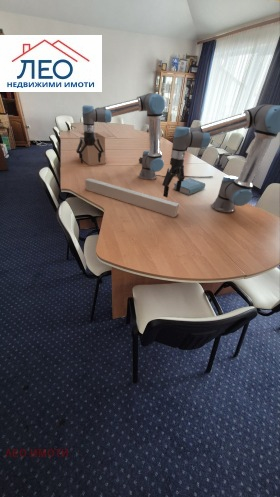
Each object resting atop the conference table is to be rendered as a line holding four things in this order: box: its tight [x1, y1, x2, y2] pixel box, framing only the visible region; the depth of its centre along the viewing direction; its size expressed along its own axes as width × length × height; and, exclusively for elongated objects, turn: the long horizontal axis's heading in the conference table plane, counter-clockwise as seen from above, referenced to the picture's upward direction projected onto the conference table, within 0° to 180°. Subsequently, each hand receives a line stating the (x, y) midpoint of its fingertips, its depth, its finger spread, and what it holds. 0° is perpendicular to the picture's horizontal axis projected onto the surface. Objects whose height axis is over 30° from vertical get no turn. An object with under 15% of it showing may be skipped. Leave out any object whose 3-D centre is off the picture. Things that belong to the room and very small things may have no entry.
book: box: [173, 177, 206, 196], centre depth 186 cm, size 23×16×5 cm
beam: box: [84, 177, 180, 218], centre depth 159 cm, size 76×5×8 cm, turn 60°
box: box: [70, 130, 114, 166], centre depth 229 cm, size 44×36×27 cm
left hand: (90, 162), depth 169 cm, fingers open, 13 cm apart
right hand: (171, 193), depth 137 cm, fingers open, 13 cm apart
